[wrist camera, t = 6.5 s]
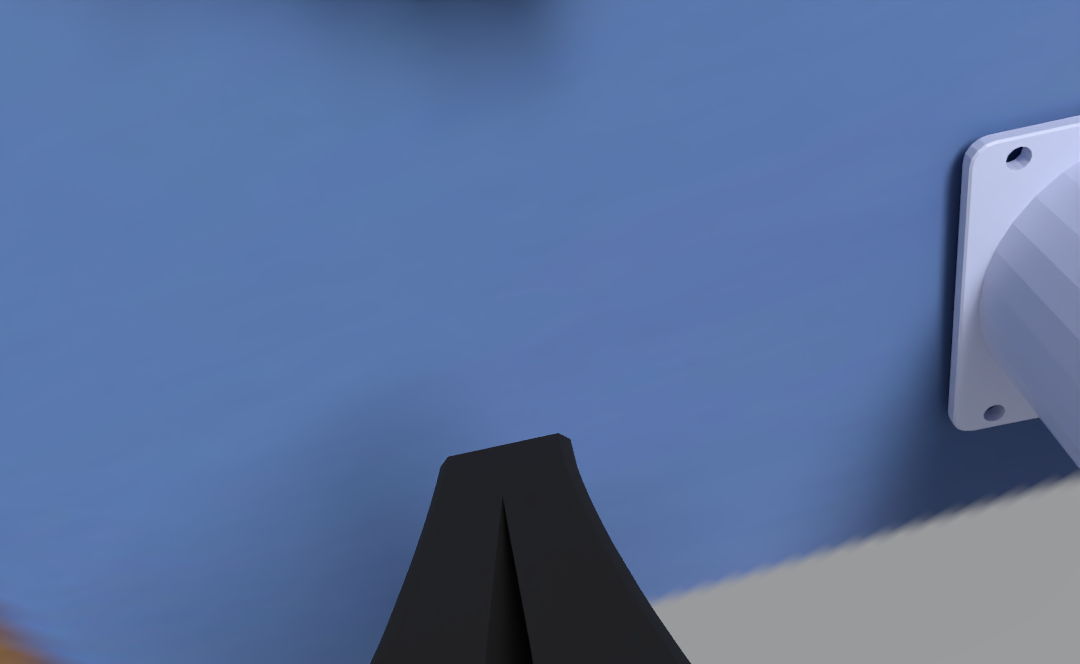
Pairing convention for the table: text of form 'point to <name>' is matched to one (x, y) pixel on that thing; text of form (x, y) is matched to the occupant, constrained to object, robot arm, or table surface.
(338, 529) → the table surface
